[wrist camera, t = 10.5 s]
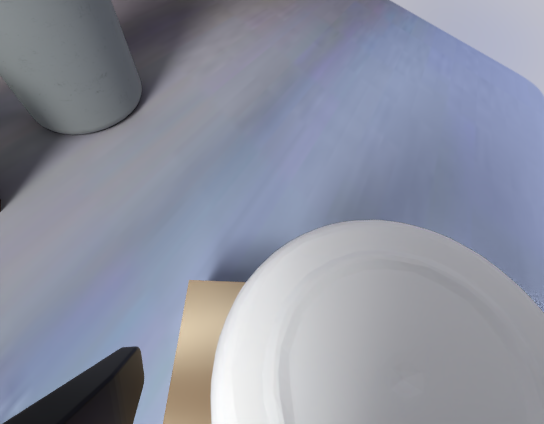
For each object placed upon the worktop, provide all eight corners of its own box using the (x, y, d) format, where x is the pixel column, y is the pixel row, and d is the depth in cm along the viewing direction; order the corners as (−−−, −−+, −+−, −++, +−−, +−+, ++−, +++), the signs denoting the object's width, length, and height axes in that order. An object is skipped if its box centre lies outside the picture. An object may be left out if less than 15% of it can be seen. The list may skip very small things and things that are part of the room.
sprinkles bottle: (236, 390, 16) (149, 292, 4) (319, 342, 17) (423, 166, 5) (283, 505, 13) (363, 919, 2) (375, 440, 15) (740, 482, 3)
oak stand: (433, 582, 14) (468, 615, 12) (155, 567, 15) (131, 596, 12) (390, 305, 21) (406, 288, 18) (198, 297, 21) (189, 279, 19)
